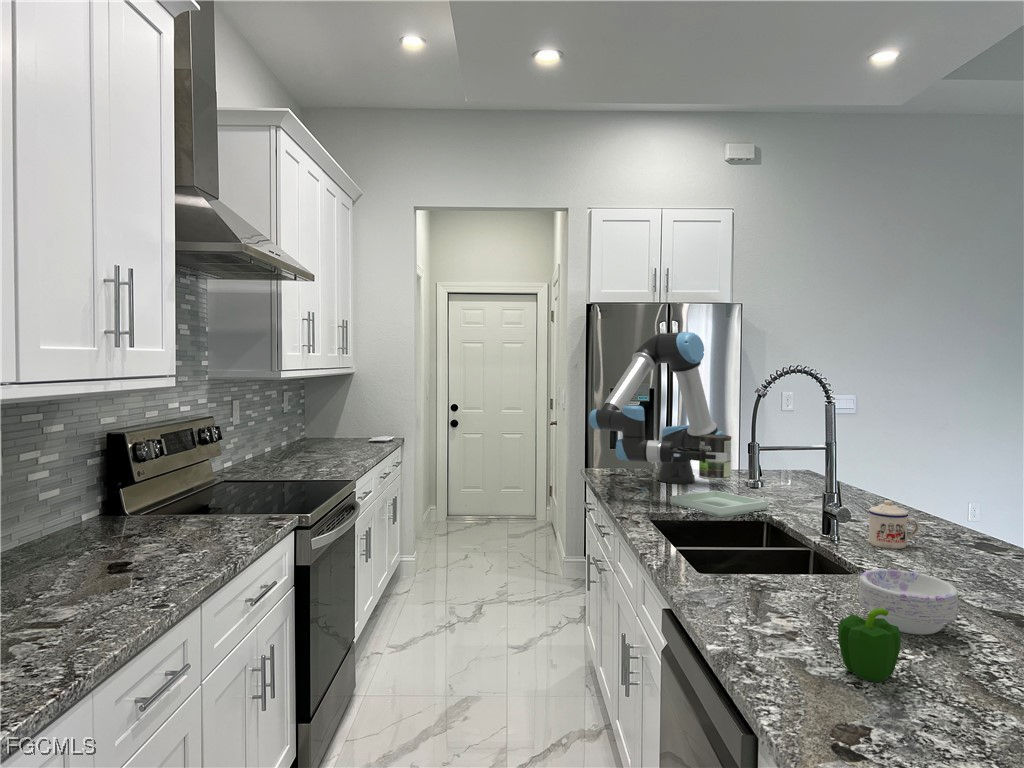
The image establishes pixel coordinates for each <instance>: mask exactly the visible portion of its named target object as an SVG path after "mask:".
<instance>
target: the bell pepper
mask: <svg viewBox="0 0 1024 768" xmlns="http://www.w3.org/2000/svg"><path fill="white" fill-rule="evenodd" d="M888 613H889V612H888V611H887V610H886V609H882V608H880V609H874V610H873V611H869V613H868V616H867V618H866V619H865V618H862V617H861V616H859V615H858V614H857V615H856V614H852V613H851V614H850V615H848V616H847V617H845V618H843V619H842V618H841V620H840V622H839V624H838V625H837V640H838V644H839V650H840V653H841V658H842V663H843V664H844V666H845V668H846V670H848V671H849V672H850V673H854V675H855V676H857V677H858V678H859V679H861V680H863V681H868V682H874V683H875V682H877V683H878V682H879V683H882V682H884V681H885V680H887V679H888V678H890V677H891V676H892V675H893V673H894V671H895V668H896V665H897V662H898V659H899V656H900V655H899V654H900V650H901V647H902V645H901V644H902V642H901V641H902V632H900V631H899V628H898V626H894V625H891V624H889V623H888V622H887V621H886V620H885V619H884V618H876V616H878V615H884V616H887V615H888Z"/></svg>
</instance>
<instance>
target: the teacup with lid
mask: <svg viewBox="0 0 1024 768" xmlns="http://www.w3.org/2000/svg"><path fill="white" fill-rule="evenodd" d="M893 503H894V502H893V501H892V500H888V499H886V500H884V501H883V503H880V504H878V505H877V506H871V507H870V508H869V509H868V514H869V515H868V517H869V519H868V521H869V522H868V524H869V525H868V527H869V528H868V543H869V544H870V545H872V546H874V547H879V548H884V549H891V550H892V549H893V550H894V549H895V550H899V549H905V548H906V547H907V545H908V542H907V541H908V540H907V539H908V538H912V537H915V536H916V535H917V534H918V533H919V531H920V523H919V521H918V520H916V519H915V518H912V517H909V513H908V511H907V510H904V509H902V508H900V507H898V506H897V505H896V504H893ZM908 522H912V523H914V524H915V528H914V530H913V531H912V532H910V533H908Z"/></svg>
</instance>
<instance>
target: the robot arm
mask: <svg viewBox="0 0 1024 768" xmlns="http://www.w3.org/2000/svg"><path fill="white" fill-rule="evenodd" d="M704 356H705V345H704V343H703V340H702V338H701V337H700V336H699V335H698V334H696V333H695V332H693V331H692V332H689V331H688V332H687V331H681V332H664V333H663V332H662V333H656V334H654V335H652V336H650V337H649V338H647V339H645V341H644V342H642V343H641V344H640V345H639V347H637V349H636V350H635V352H634V353H633V354H632V356H631V362H630V363H629V365H628V367H627V368H626V370H625V371H624V373H623V374H622V375H621V377H620V379H619V380H618V382H617V383H616V385H615V387H614V388H613V389H612V390H611V392H610V393H609V395H608V396H607V398H606V400H605V401H604V403H603V405H602V406H601V407H600V408H595V409H593V410H591V411H590V413H589V414H588V415H589V416H588V423H589V425H590V427H591V428H592V429H595V430H600V431H610V432H620V433H621V432H622V437H621V438H618V439H617V440H616V443H615V456H616V458H617V459H618V460H621V461H629V462H644V463H645V462H646V463H651V465H654V464H655V463H660V462H661V463H660V467H659V470H658V473H657V479H656V480H657V481H658V480H659V481H658V482H660V481H662V482H661V483H665V482H667V483H668V484H675V485H676V484H680V485H681V484H692V483H695V482H696V479H695V477H696V476H695V474H694V471H693V467H692V464H691V461H696V462H697V461H698V462H699V461H702V463H705V459H706V461H722V462H727V453H714V452H706V454H705V453H704V452H700V438H699V435H704V434H716V435H726V433H725V432H724V431H723V430H718V425H717V423H716V422H715V421H712V418H711V413H710V410H709V406H708V403H707V398H706V394H705V390H704V387H703V381H702V379H701V374H700V371H699V367H700V366H701V365H702V363H701V362H702V360H703V359H704ZM660 364H668V365H669V366H668V367H669V369H670V372H671V373H674V374H675V377H676V379H677V380H676V381H677V384H678V387H679V391H680V393H681V395H680V396H681V400H682V402H683V406H684V410H685V413H686V417H687V421H688V424H687V425H685V424H684V425H673V426H665V427H663V429H662V431H661V432H662V433H661V440H654V439H653V440H651V439H648V440H646V439H645V419H646V418H645V409H644V407H643V406H642V405H629V402H631V400H632V398H633V396H634V395H635V394H636V392H637V390H638V389H639V388H640V386H641V384H642V383H643V382H644V380H645V378H646V376H648V373H649V372H652V371H653V370H654V369H655V368H656V366H657V365H660ZM667 483H666V484H667Z"/></svg>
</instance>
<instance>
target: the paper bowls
mask: <svg viewBox="0 0 1024 768" xmlns="http://www.w3.org/2000/svg"><path fill="white" fill-rule="evenodd" d="M858 584H859V591H858V594H859V596H858V599H859V600H858V601H859V604H860V605H861V606H862V607H863V608H864V609H865V610H867V611H868V612H871V611H873V610H874V609H880V608H882V609H886V610H887V611H888V612H889V613H888V615H887V616H884V615H878V616H876V618H884V619H885V620H886V621H887V622H888V623H889V624H891V625H894V626H898V628H899V631H900V633H905V634H910V635H924V636H926V635H927V636H928V635H933V634H936V633H938V632H940V631H941V630H942V628H943V627H944V625H946V624H950V623H953V622H955V621H956V620H957V619H958V616H959V591H958V589H957V588H956V587H955V586H954V585H952V584H951V583H949V582H948V581H945V580H943V579H940V578H938V577H934V576H931V575H927V574H923V573H920V572H919V573H918V572H914V571H908V570H907V571H906V570H901V569H900V570H898V569H873V570H872V569H870V570H867V571H864V572H862V573H861V574H860V576H859V583H858Z"/></svg>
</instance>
